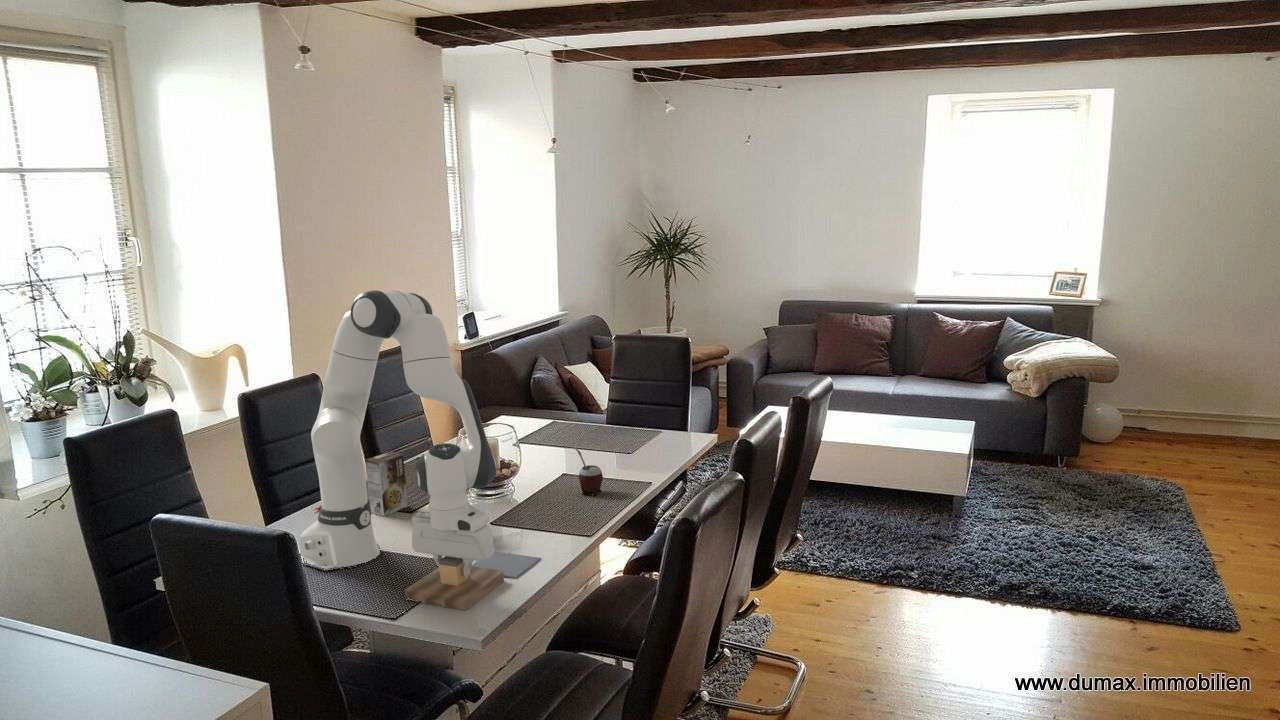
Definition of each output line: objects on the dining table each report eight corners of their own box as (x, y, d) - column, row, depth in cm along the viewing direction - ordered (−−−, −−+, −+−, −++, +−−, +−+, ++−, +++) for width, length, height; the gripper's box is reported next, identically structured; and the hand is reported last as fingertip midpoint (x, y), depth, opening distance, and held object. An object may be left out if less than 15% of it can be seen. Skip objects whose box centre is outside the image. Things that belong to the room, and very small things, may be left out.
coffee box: (394, 503, 274) (389, 450, 270) (409, 507, 270) (404, 453, 267) (369, 513, 266) (364, 459, 263) (384, 516, 263) (378, 462, 260)
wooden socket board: (405, 600, 208) (404, 589, 208) (446, 572, 223) (445, 562, 222) (465, 610, 202) (464, 599, 202) (504, 581, 216) (503, 570, 216)
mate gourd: (607, 494, 274) (605, 445, 272) (584, 499, 270) (581, 450, 268) (595, 487, 281) (593, 440, 278) (572, 493, 277) (569, 444, 274)
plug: (441, 593, 211) (439, 560, 210) (453, 585, 215) (450, 552, 214) (458, 596, 210) (455, 562, 208) (469, 587, 214) (466, 555, 212)
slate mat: (465, 571, 223) (465, 569, 223) (492, 552, 234) (492, 550, 234) (515, 578, 217) (515, 577, 217) (540, 559, 228) (540, 557, 228)
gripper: (403, 516, 210) (408, 573, 213) (480, 525, 202) (484, 585, 205) (420, 506, 216) (425, 562, 219) (495, 516, 208) (499, 573, 211)
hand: (454, 573), depth 212 cm, fingers closed on plug, 4 cm apart
